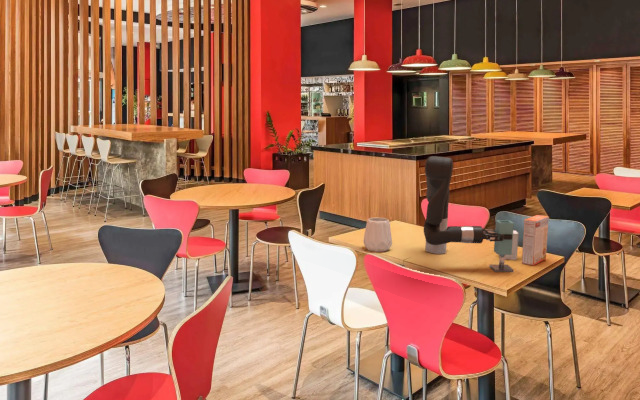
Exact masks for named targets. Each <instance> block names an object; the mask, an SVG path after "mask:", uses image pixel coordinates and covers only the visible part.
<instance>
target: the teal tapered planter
mask: <svg viewBox="0 0 640 400" xmlns="http://www.w3.org/2000/svg"><path fill="white" fill-rule="evenodd" d="M514 226H515V224H514V222H513V221H511V220H509V219H506V220H505V219H504V220H502V219H496V220H495V228H494V229H495V232H498V234H511V235H512V240H503V241H493V242H494V243H493V252H494V253H495V254H497V256H499V255H511V254H512V241H513V230H514ZM495 235H496V234H495ZM498 238H500V237H498Z"/></svg>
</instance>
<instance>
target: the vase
mask: <svg viewBox="0 0 640 400" xmlns="http://www.w3.org/2000/svg"><path fill="white" fill-rule="evenodd" d="M365 225H366V226H365V231H364V234H363V245H364V248H366V249H367V251H369V252H373V253H374V252H375V253H378V252H379V253H382V252H384V253H385V252H387V251H388V250H390V249H391V247H392V246H393V238H392V237H393V236H392V231H391V230H392V229H391V223H390V220H389V219H388V218H386V217H370V218H367V220H366V224H365Z"/></svg>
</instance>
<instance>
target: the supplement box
mask: <svg viewBox="0 0 640 400" xmlns="http://www.w3.org/2000/svg"><path fill="white" fill-rule="evenodd" d="M519 235H520V233H519V232H518V231H517V230H514V229H513V241H512V254H511V255H505V260H511V261H515V260H516V261H517V260H518V259H517V258H518V247H519ZM498 257H500V255H498Z"/></svg>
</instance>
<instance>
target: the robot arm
mask: <svg viewBox="0 0 640 400" xmlns="http://www.w3.org/2000/svg"><path fill="white" fill-rule="evenodd" d="M424 163H425V164H424V174H425V179H426V181H425V182H426V194H425V195H426V201H427V205H426V206H427V207H426V218H425V221H424V224H423V235H424V239H425V249H424V251H425V252H427V253H429V254H430V253H431V254H433V255H434V254H435V255H442V254H446V253H447V245H448V243H462V244H482V243H483V242H484V240H486V241H489V242H495V241H503V240H512V235H511V234H498V232H495V228H494V229H492V228H491V229H490V228H483V227H482V226H480V225H462V226H460V225H458V226H453V225H450V226H448V225H449V224H448V223H449V219H448V218H449V203H450V195H451V193H450V192H451V191H450V185H451V181H452V176H453V172H454V171H453V170H454V161H453V159H452V158H451V157H448V156H447V157H446V156H439V155H438V156H437V155H435V156H434V155H431V156H428V157H427V159H426V161H425V162H424ZM495 234H496V235H495ZM498 237H500V238H498Z"/></svg>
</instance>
